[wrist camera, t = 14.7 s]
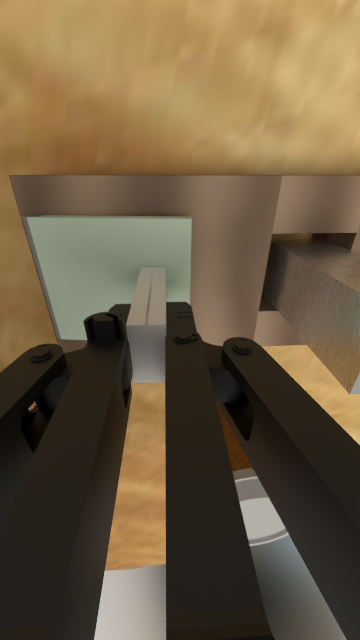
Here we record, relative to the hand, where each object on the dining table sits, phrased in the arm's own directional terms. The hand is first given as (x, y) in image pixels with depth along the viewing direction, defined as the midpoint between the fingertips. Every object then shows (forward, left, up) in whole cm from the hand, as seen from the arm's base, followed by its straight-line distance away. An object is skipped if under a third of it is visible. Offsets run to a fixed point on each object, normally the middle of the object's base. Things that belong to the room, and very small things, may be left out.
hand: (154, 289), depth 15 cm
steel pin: (+10, 0, -7) cm, 12 cm away
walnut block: (+4, 0, -7) cm, 8 cm away
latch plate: (-2, 0, -1) cm, 3 cm away
